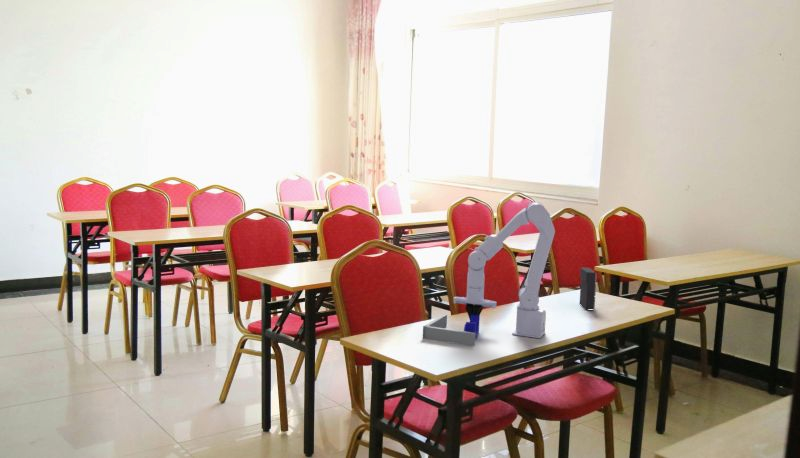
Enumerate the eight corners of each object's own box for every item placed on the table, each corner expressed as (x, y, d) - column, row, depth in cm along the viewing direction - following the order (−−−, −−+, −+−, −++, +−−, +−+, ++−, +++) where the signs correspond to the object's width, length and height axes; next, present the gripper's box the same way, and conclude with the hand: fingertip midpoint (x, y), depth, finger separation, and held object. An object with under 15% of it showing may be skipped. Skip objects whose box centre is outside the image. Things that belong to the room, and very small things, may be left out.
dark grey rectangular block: (595, 310, 283) (598, 272, 281) (584, 310, 283) (586, 272, 281) (588, 304, 294) (591, 267, 292) (577, 304, 294) (580, 267, 292)
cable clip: (465, 331, 246) (466, 314, 245) (478, 332, 245) (479, 315, 244) (460, 340, 235) (461, 322, 234) (474, 342, 234) (475, 323, 233)
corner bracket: (491, 332, 246) (491, 320, 246) (473, 346, 229) (474, 333, 228) (443, 325, 253) (443, 314, 252) (422, 338, 236) (423, 326, 235)
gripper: (499, 287, 247) (497, 326, 249) (459, 282, 253) (457, 320, 254) (493, 290, 240) (491, 331, 242) (452, 285, 246) (450, 325, 248)
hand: (473, 326), depth 248 cm, fingers closed
